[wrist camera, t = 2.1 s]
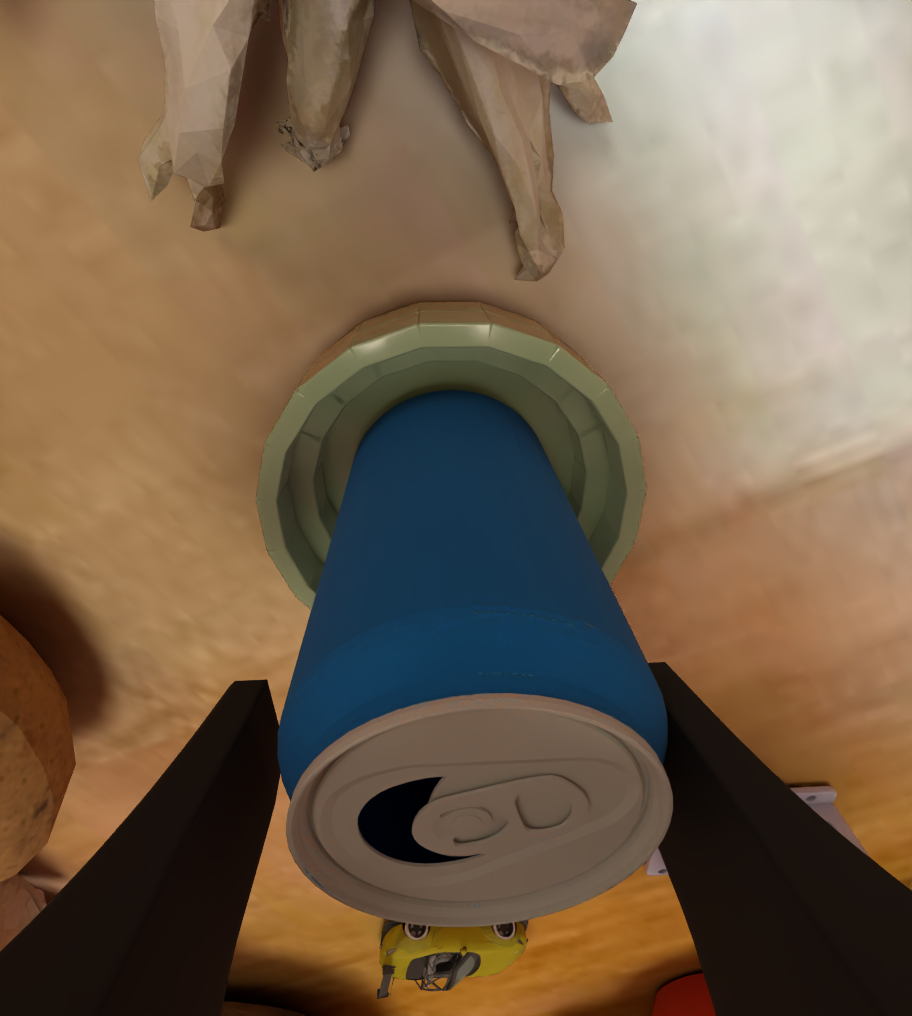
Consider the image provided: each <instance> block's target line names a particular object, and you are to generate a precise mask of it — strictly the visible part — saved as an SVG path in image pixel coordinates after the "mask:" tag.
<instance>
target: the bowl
mask: <svg viewBox="0 0 912 1016" xmlns="http://www.w3.org/2000/svg"><path fill="white" fill-rule="evenodd" d="M221 1016H306V1015H303V1014H301V1013H298V1012H294V1011H290V1010H286V1009H282V1008H277V1007H272V1006H266V1005H259V1004H250V1003H240V1002H230V1001H223V1006H222V1011H221Z"/></svg>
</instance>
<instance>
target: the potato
mask: <svg viewBox="0 0 912 1016" xmlns="http://www.w3.org/2000/svg"><path fill="white" fill-rule="evenodd" d="M75 765H76V762H75V755H74V748H73V741H72V734H71V727H70V721H69V714H68V707H67V700H66V697H65V695H64V693H63V691H62V690H61V688H60V686H59V684H58V682H57V681H56V679H55V677H54V675H53V673H52V672H51V670H50V669H49V667H48V666H47V665H46V664H45V662H44V661H43V660H42V658H41V657H40V656H39V655H38V653H37V652H36V651H35V649H34V648H33V647H32V646H31V644H30V643H29V642H28V641H27V640H26V639H25V638H24V637H23V636H22V635H21V634H20V633H19V632H18V631H17V630H16V629H15V628H14V627H13V626H12V625H11V624H10V623H9V622H8V621H7V620H6V619H5V618H3V617H2V616H1V615H0V882H2V881H4V880H6V879H8V878H10V877H13V876H15V875H16V874H17V873H18V872H19V871H20V870H21V869H22V868H23V867H24V866H25V865H26V864H27V863H28V862H29V861H30V860H31V859H32V858H33V857H34V856H35V855H36V854H37V853H38V852H39V851H40V850H41V849H42V848H43V847H44V846H45V845H46V844H47V842H48V839H49V837H50V834H51V831H52V828H53V826H54V823H55V820H56V817H57V815H58V812H59V809H60V806H61V804H62V801H63V798H64V795H65V793H66V790H67V787H68V784H69V782H70V779H71V776H72V773H73V770H74V768H75Z"/></svg>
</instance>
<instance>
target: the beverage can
mask: <svg viewBox="0 0 912 1016" xmlns="http://www.w3.org/2000/svg"><path fill="white" fill-rule="evenodd" d="M667 743H668V724H667V713H666V708H665V704H664V700H663V695H662V692H661V690H660V688H659V686H658V684H657V682H656V680H655V678H654V676H653V673H652V671H651V669H650V667H649V665H648V663H647V661H646V659H645V657H644V655H643V653H642V651H641V649H640V647H639V645H638V643H637V640H636V638H635V636H634V634H633V632H632V630H631V628H630V626H629V624H628V622H627V620H626V618H625V616H624V614H623V612H622V610H621V608H620V605H619V603H618V601H617V599H616V597H615V595H614V593H613V591H612V589H611V587H610V585H609V583H608V581H607V579H606V577H605V575H604V573H603V570H602V568H601V566H600V564H599V562H598V560H597V558H596V556H595V554H594V552H593V550H592V548H591V546H590V544H589V542H588V540H587V537H586V535H585V533H584V531H583V529H582V527H581V525H580V523H579V521H578V519H577V517H576V515H575V513H574V511H573V509H572V507H571V505H570V502H569V500H568V498H567V496H566V494H565V492H564V490H563V488H562V486H561V484H560V482H559V480H558V478H557V476H556V474H555V472H554V469H553V467H552V465H551V463H550V461H549V459H548V457H547V455H546V453H545V451H544V449H543V447H542V445H541V443H540V441H539V439H538V437H537V435H536V434H535V432H534V431H533V429H532V428H531V426H530V425H529V424H528V423H527V422H526V421H525V420H524V418H523V417H522V416H520V415H519V414H518V413H517V412H516V411H514V410H513V409H512V408H510V407H509V406H507V405H505V404H504V403H502V402H500V401H498V400H496V399H494V398H491V397H489V396H486V395H483V394H479V393H476V392H470V391H464V390H440V391H432V392H428V393H424V394H420V395H417V396H414V397H412V398H409V399H406V400H405V401H403V402H401V403H399V404H397V405H395V406H394V407H392V408H391V409H390V410H388V411H387V412H385V413H384V414H383V415H382V416H381V417H380V418H379V419H378V420H376V421H375V422H374V423H373V425H372V426H371V427H370V429H369V430H368V431H367V432H366V434H365V435H364V437H363V439H362V441H361V442H360V444H359V447H358V449H357V452H356V454H355V457H354V461H353V464H352V468H351V471H350V475H349V478H348V482H347V485H346V489H345V493H344V496H343V500H342V503H341V507H340V510H339V514H338V517H337V521H336V524H335V528H334V532H333V535H332V539H331V542H330V546H329V549H328V553H327V556H326V560H325V563H324V567H323V571H322V574H321V578H320V581H319V585H318V588H317V592H316V595H315V599H314V602H313V606H312V610H311V613H310V617H309V620H308V624H307V627H306V631H305V634H304V638H303V641H302V645H301V649H300V652H299V656H298V659H297V663H296V666H295V670H294V673H293V677H292V680H291V684H290V688H289V691H288V695H287V698H286V702H285V705H284V709H283V712H282V716H281V721H280V725H279V729H278V761H279V767H280V772H281V777H282V782H283V784H284V787H285V789H286V791H287V794H288V796H289V799H290V801H291V803H290V806H289V810H288V815H287V823H286V836H287V841H288V846H289V849H290V852H291V854H292V856H293V858H294V861H295V862H296V864H297V865H298V867H299V868H300V869H301V871H302V872H303V873H304V875H305V876H306V877H307V878H308V879H309V880H310V881H311V882H312V883H313V884H314V885H315V886H317V887H318V888H319V889H321V890H322V891H324V892H325V893H326V894H328V895H329V896H331V897H332V898H334V899H336V900H338V901H340V902H341V903H343V904H345V905H348V906H350V907H352V908H355V909H357V910H359V911H362V912H365V913H368V914H371V915H374V916H377V917H381V918H385V919H389V920H393V921H398V922H403V923H410V924H416V925H426V926H437V927H477V926H489V925H499V924H506V923H512V922H518V921H524V920H528V919H533V918H537V917H542V916H545V915H549V914H552V913H555V912H559V911H562V910H565V909H568V908H570V907H573V906H575V905H578V904H581V903H583V902H585V901H587V900H590V899H592V898H594V897H596V896H598V895H600V894H602V893H604V892H606V891H607V890H609V889H611V888H613V887H614V886H616V885H617V884H619V883H620V882H622V881H623V880H625V879H626V878H627V877H629V876H630V875H632V874H633V873H634V872H635V871H636V870H637V869H638V868H640V867H641V866H642V865H643V864H644V863H645V862H646V861H647V860H648V859H649V858H650V856H651V855H652V854H653V853H654V852H655V851H656V849H657V848H658V846H659V845H660V843H661V841H662V840H663V838H664V837H665V834H666V832H667V830H668V827H669V825H670V822H671V817H672V812H673V793H672V790H671V786H670V782H669V779H668V777H667V774H666V772H665V770H664V767H663V764H664V760H665V755H666V749H667Z"/></svg>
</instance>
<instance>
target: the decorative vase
mask: <svg viewBox="0 0 912 1016" xmlns="http://www.w3.org/2000/svg"><path fill="white" fill-rule="evenodd" d="M652 1016H716V1014H715V1011H714V1007H713V1004H712V1001H711V997H710V994H709V991H708V987H707V984H706V981H705V978H704V974H703V973H699V974H694V975H690V976H687V977H683V978H680V979H678V980H675V981H673V982H671V983H669V984H667V985H665V986H664V987H662V988H661V989H660V990H659V991H658V992H657V994H656V996H655V1001H654V1007H653V1012H652Z"/></svg>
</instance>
